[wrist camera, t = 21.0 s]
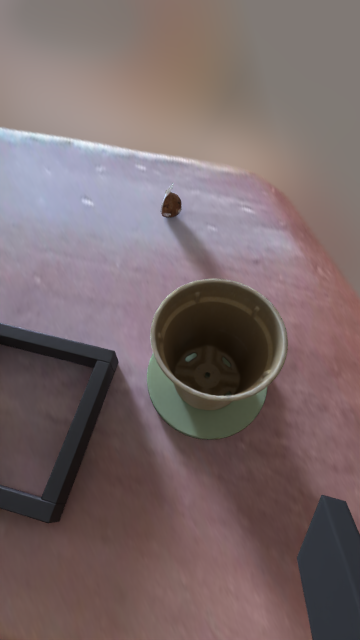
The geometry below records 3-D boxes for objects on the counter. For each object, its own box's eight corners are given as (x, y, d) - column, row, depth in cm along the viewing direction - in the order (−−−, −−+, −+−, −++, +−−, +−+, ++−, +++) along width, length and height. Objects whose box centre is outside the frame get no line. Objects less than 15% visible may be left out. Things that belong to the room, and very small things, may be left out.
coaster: (183, 464, 27) (184, 464, 27) (127, 355, 32) (127, 352, 31) (290, 401, 30) (292, 399, 30) (224, 309, 35) (225, 306, 34)
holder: (59, 521, 25) (48, 523, 23) (-98, 473, 26) (-123, 470, 24) (118, 361, 32) (114, 350, 29) (-11, 329, 33) (-24, 316, 31)
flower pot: (186, 315, 33) (190, 259, 26) (273, 357, 31) (306, 310, 24) (135, 395, 29) (123, 357, 22) (233, 450, 27) (256, 429, 20)
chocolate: (173, 226, 40) (173, 200, 37) (157, 219, 41) (156, 192, 37) (185, 211, 42) (186, 184, 38) (170, 205, 42) (170, 177, 39)
